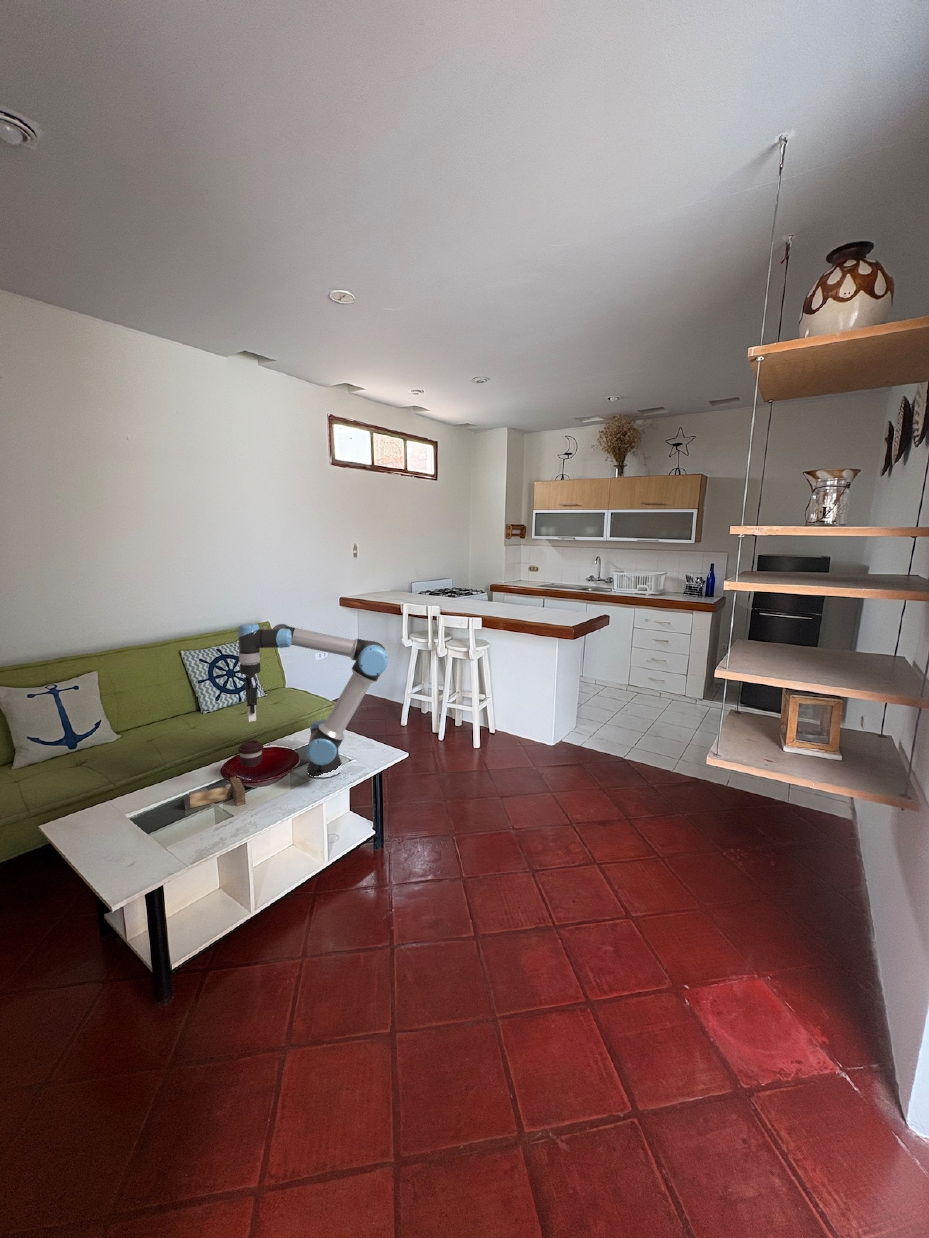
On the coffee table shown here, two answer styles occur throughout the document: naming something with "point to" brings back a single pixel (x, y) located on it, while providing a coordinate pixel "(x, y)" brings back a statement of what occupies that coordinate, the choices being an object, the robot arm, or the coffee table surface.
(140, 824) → the coffee table surface
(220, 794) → the folding leg
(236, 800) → the curved wooden block
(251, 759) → the coffee cup
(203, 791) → the leg rest
